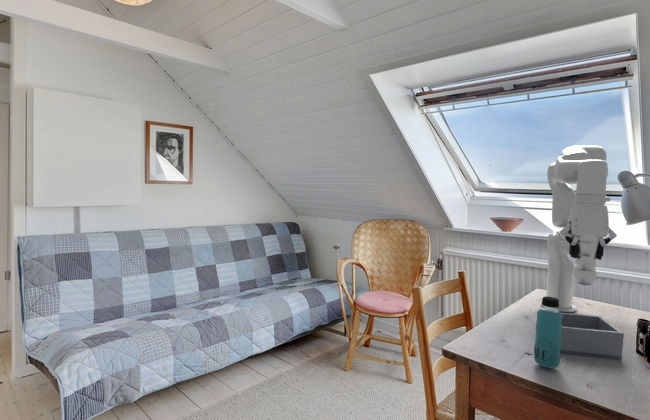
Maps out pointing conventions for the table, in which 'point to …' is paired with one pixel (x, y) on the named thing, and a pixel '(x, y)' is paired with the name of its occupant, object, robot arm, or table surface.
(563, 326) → the bin
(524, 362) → the table surface
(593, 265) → the silver aluminium bottle
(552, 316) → the beverage bottle
